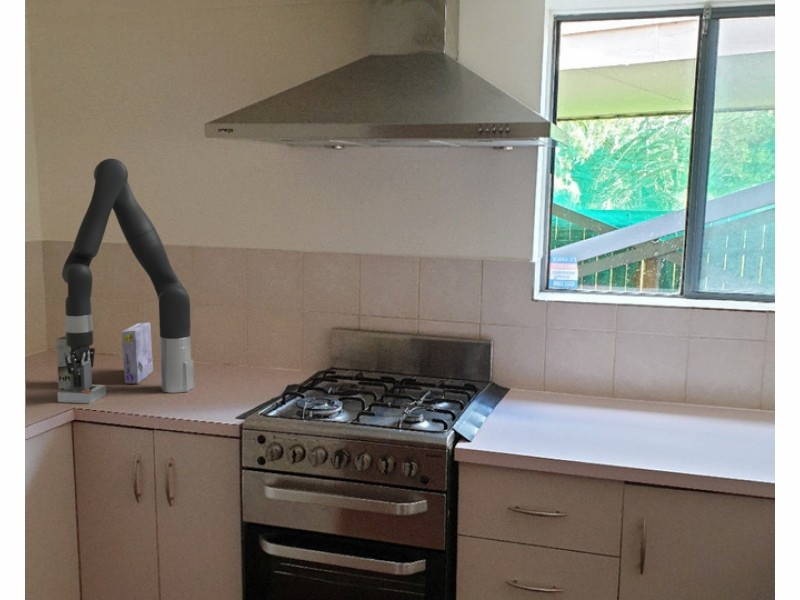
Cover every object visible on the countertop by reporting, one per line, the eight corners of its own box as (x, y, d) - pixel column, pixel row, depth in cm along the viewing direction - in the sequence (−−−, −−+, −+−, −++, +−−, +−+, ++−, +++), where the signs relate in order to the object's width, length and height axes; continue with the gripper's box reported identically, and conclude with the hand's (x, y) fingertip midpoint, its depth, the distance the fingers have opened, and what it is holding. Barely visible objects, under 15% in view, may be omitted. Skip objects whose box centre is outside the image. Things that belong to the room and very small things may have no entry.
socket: (106, 394, 237) (105, 382, 237) (90, 403, 227) (89, 391, 227) (75, 393, 238) (74, 381, 238) (57, 402, 228) (57, 390, 228)
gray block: (78, 390, 235) (77, 360, 234) (92, 391, 235) (90, 360, 233) (71, 394, 231) (69, 363, 229) (85, 395, 230) (83, 363, 229)
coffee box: (78, 389, 243) (75, 339, 241) (57, 388, 243) (55, 338, 241) (90, 382, 252) (88, 333, 250) (70, 381, 252) (68, 333, 250)
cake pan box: (140, 370, 268) (138, 320, 266) (154, 370, 269) (153, 321, 266) (122, 384, 249) (120, 331, 247) (138, 384, 250) (136, 331, 247)
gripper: (79, 334, 222) (81, 391, 225) (102, 325, 236) (104, 379, 239) (54, 333, 223) (57, 390, 226) (79, 324, 237) (81, 378, 240)
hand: (81, 384), depth 232 cm, fingers closed on gray block, 4 cm apart
